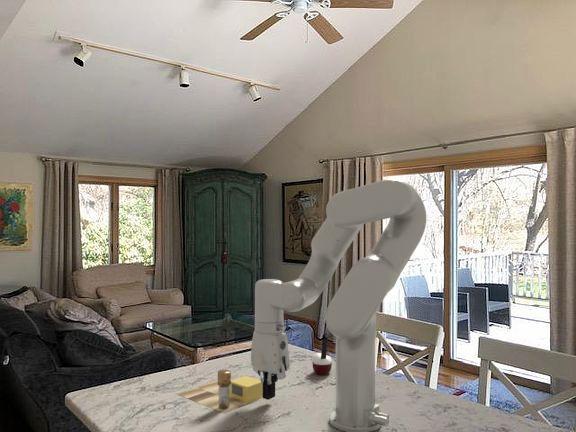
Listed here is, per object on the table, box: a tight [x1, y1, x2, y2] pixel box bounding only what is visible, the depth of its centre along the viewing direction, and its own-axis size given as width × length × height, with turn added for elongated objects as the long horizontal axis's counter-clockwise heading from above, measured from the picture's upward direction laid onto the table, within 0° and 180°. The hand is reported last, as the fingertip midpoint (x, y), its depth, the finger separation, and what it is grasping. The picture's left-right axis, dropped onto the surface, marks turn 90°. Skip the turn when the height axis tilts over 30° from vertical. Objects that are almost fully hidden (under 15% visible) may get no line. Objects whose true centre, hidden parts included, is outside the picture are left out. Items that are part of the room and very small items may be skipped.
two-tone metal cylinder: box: [217, 369, 232, 409], centre depth 119 cm, size 3×3×9 cm
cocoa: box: [311, 338, 333, 376], centre depth 149 cm, size 10×6×12 cm, turn 168°
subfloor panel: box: [176, 379, 264, 414], centre depth 128 cm, size 20×16×1 cm
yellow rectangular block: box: [230, 375, 263, 402], centre depth 127 cm, size 7×6×4 cm
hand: (268, 397), depth 121 cm, fingers closed
